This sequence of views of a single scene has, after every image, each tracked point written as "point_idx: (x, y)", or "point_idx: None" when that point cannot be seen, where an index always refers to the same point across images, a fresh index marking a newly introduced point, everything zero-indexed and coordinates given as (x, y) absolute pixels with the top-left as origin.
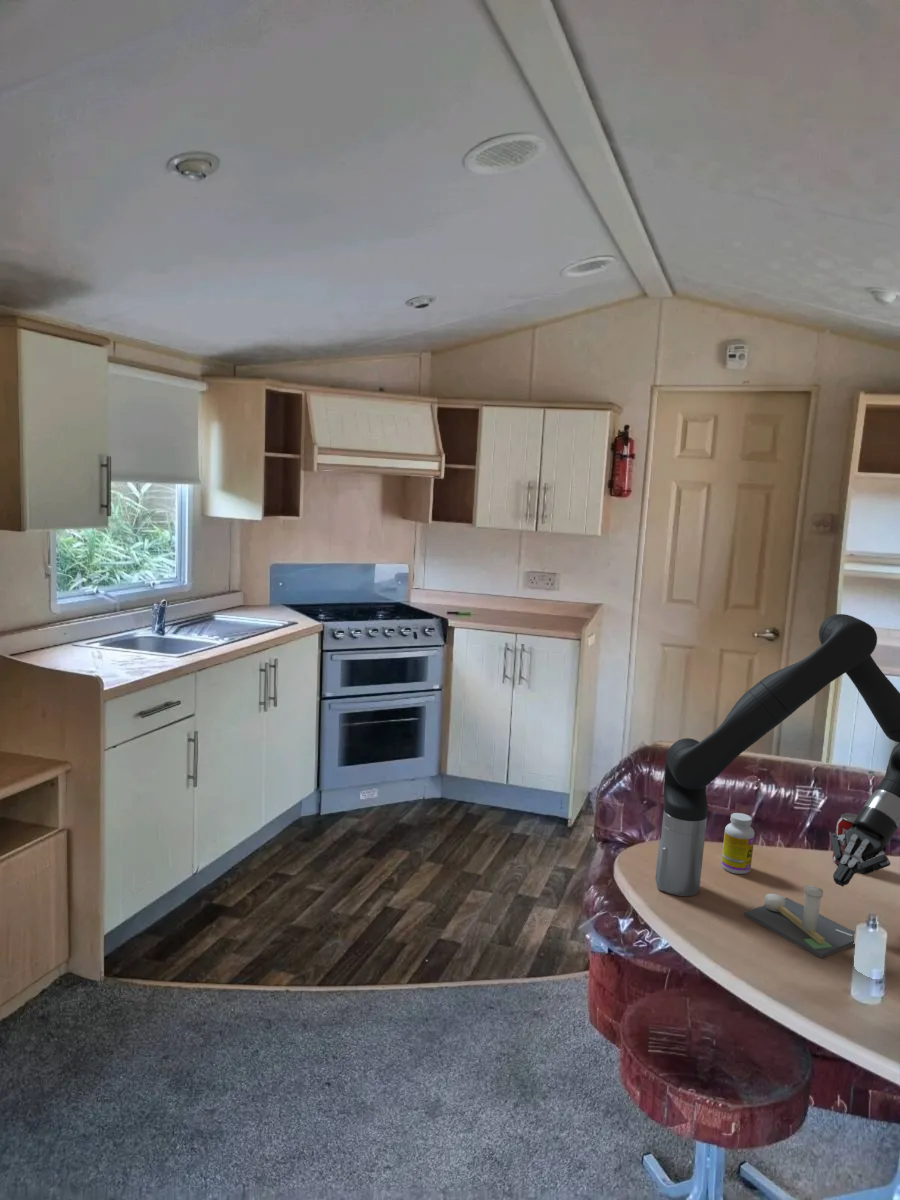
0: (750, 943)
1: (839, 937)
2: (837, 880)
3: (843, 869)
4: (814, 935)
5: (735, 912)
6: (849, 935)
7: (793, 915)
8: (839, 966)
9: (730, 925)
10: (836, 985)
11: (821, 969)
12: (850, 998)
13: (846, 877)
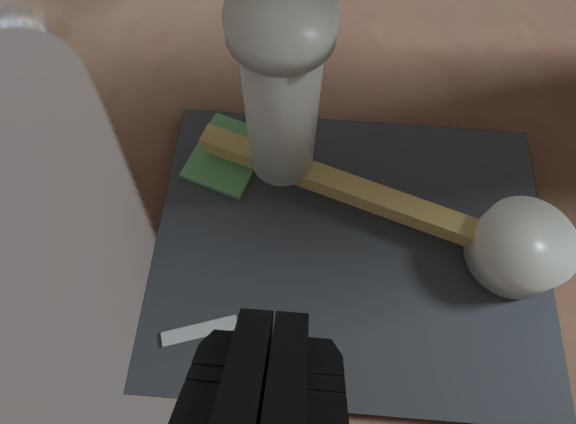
0: (371, 22)
1: (197, 278)
2: (268, 311)
3: (259, 404)
4: (241, 138)
5: (550, 135)
6: (172, 330)
7: (386, 199)
8: (122, 123)
9: (482, 55)
10: (88, 32)
11: (156, 66)
12: (36, 11)
13: (202, 367)
